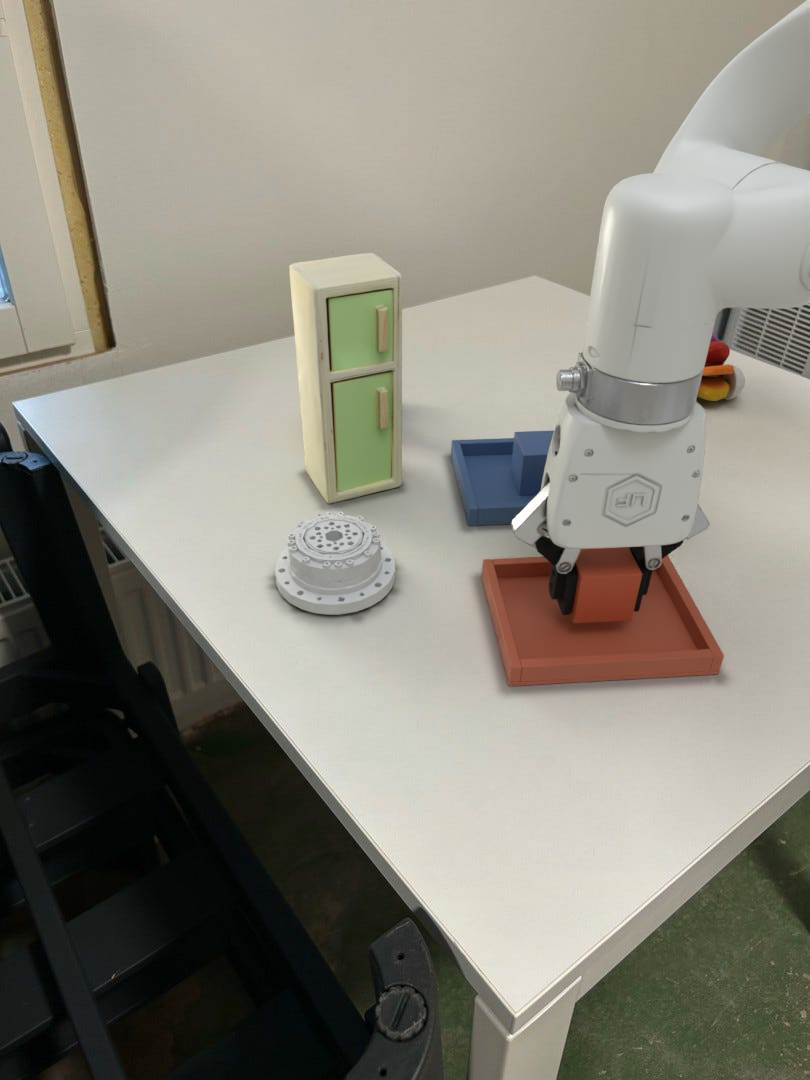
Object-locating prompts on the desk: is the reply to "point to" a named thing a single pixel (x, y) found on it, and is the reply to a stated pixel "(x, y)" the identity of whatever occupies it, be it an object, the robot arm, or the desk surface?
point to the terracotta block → (605, 585)
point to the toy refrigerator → (349, 372)
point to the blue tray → (487, 481)
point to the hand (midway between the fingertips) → (595, 599)
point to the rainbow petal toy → (720, 374)
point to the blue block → (530, 460)
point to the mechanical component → (335, 565)
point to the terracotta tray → (594, 630)
